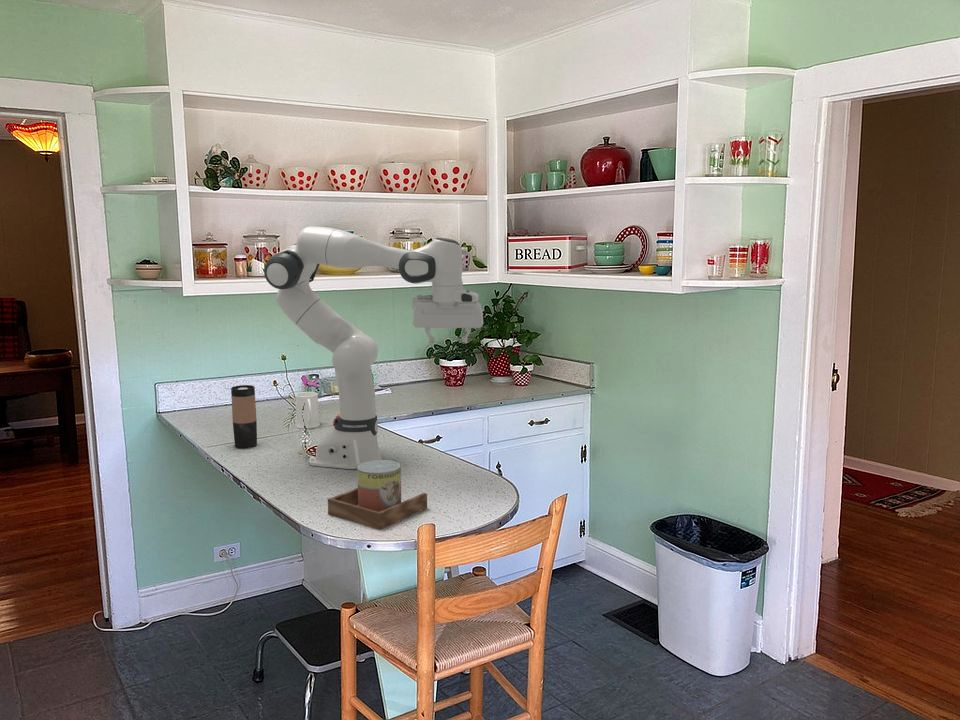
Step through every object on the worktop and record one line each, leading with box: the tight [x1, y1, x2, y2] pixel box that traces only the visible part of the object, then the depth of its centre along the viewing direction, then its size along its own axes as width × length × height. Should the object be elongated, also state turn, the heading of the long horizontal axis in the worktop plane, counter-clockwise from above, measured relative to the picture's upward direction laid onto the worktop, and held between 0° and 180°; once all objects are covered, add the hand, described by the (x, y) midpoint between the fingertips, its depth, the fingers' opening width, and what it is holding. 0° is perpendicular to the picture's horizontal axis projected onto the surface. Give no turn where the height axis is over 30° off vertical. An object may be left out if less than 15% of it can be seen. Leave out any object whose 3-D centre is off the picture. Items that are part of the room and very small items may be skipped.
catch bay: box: [327, 487, 428, 530], centre depth 207 cm, size 18×18×4 cm
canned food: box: [356, 459, 402, 512], centre depth 207 cm, size 11×11×12 cm
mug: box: [294, 391, 321, 430], centre depth 292 cm, size 12×8×12 cm
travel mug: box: [230, 384, 258, 450], centre depth 267 cm, size 8×8×20 cm
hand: (448, 343), depth 232 cm, fingers open, 8 cm apart
